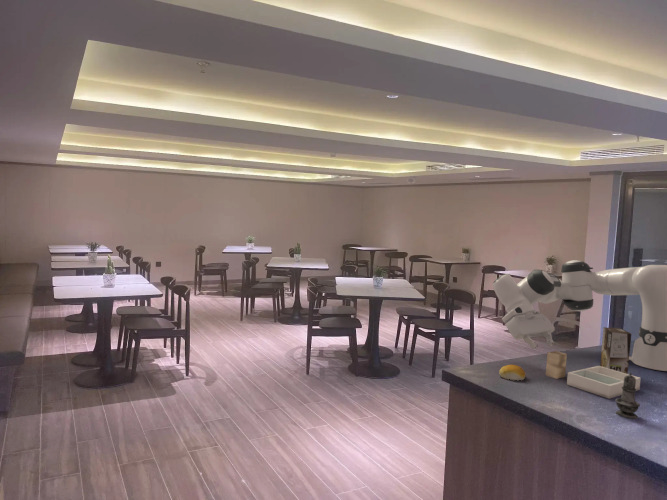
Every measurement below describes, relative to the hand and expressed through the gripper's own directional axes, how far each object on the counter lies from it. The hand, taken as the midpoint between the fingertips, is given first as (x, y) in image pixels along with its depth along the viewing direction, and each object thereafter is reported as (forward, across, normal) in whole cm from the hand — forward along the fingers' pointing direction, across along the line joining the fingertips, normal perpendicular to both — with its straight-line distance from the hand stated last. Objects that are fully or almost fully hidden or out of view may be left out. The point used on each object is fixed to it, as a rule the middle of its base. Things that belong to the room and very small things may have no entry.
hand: (543, 346), depth 171 cm
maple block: (+10, 0, -3) cm, 10 cm away
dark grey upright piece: (+31, +12, +19) cm, 38 cm away
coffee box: (+16, -22, +2) cm, 28 cm away
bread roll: (+6, +15, -7) cm, 18 cm away
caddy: (+20, -5, +7) cm, 22 cm away
